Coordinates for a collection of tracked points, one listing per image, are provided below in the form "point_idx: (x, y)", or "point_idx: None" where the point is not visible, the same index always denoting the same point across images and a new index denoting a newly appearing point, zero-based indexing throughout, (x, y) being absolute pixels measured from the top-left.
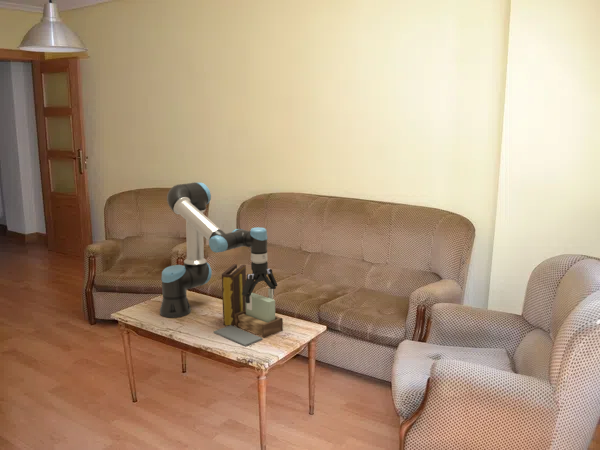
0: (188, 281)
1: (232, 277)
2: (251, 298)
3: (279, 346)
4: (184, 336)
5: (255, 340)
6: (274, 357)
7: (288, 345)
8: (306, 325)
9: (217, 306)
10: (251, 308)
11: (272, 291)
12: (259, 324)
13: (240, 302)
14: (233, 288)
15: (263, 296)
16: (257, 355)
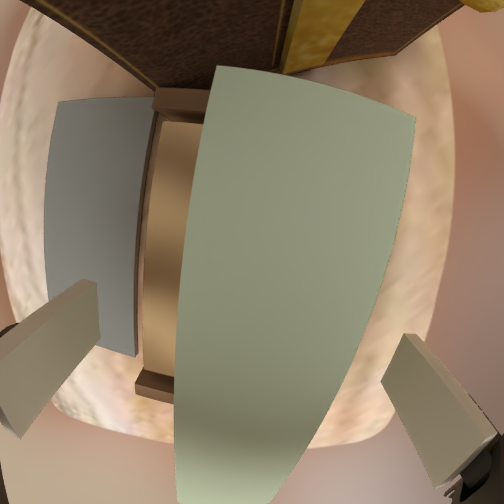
0: None
1: None
2: (31, 417)
3: (145, 418)
4: (13, 63)
5: (98, 344)
6: (90, 423)
7: (173, 435)
8: (375, 403)
9: None
10: (87, 344)
11: (429, 469)
12: (144, 351)
13: (295, 20)
14: None
15: (305, 436)
16: None
